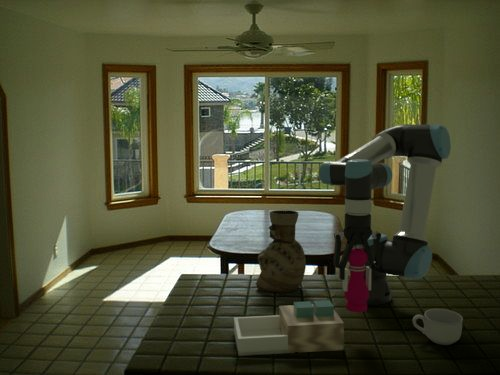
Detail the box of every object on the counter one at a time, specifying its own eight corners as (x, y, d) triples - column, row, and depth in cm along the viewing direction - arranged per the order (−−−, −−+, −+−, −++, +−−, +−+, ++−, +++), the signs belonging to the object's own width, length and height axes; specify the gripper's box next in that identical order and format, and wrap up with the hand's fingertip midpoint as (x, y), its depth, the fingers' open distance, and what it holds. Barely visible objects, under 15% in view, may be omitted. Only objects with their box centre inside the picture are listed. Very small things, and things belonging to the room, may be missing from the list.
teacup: (461, 336, 165) (462, 310, 164) (462, 351, 155) (463, 323, 154) (413, 330, 169) (413, 305, 168) (411, 344, 159) (412, 318, 158)
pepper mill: (368, 313, 159) (370, 246, 156) (343, 312, 161) (344, 245, 158) (368, 305, 166) (369, 240, 163) (344, 303, 168) (345, 239, 165)
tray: (279, 330, 170) (279, 315, 170) (288, 353, 154) (287, 336, 154) (234, 332, 169) (233, 317, 168) (238, 355, 153) (238, 338, 152)
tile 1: (309, 310, 165) (309, 301, 164) (313, 317, 160) (313, 307, 159) (293, 311, 164) (293, 302, 164) (296, 318, 159) (296, 308, 159)
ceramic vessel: (241, 288, 211) (240, 211, 207) (283, 277, 224) (283, 205, 220) (273, 301, 196) (272, 219, 192) (316, 289, 209) (316, 212, 205)
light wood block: (329, 327, 172) (329, 303, 171) (343, 349, 156) (343, 323, 155) (279, 330, 170) (279, 305, 169) (288, 353, 154) (287, 325, 153)
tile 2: (329, 309, 165) (329, 300, 165) (333, 316, 160) (333, 306, 160) (313, 310, 165) (313, 301, 164) (316, 316, 160) (316, 307, 159)
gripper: (385, 209, 164) (384, 284, 167) (322, 211, 162) (321, 286, 165) (394, 214, 157) (392, 292, 160) (328, 216, 155) (327, 295, 158)
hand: (356, 289), depth 163 cm, fingers closed on pepper mill, 6 cm apart
